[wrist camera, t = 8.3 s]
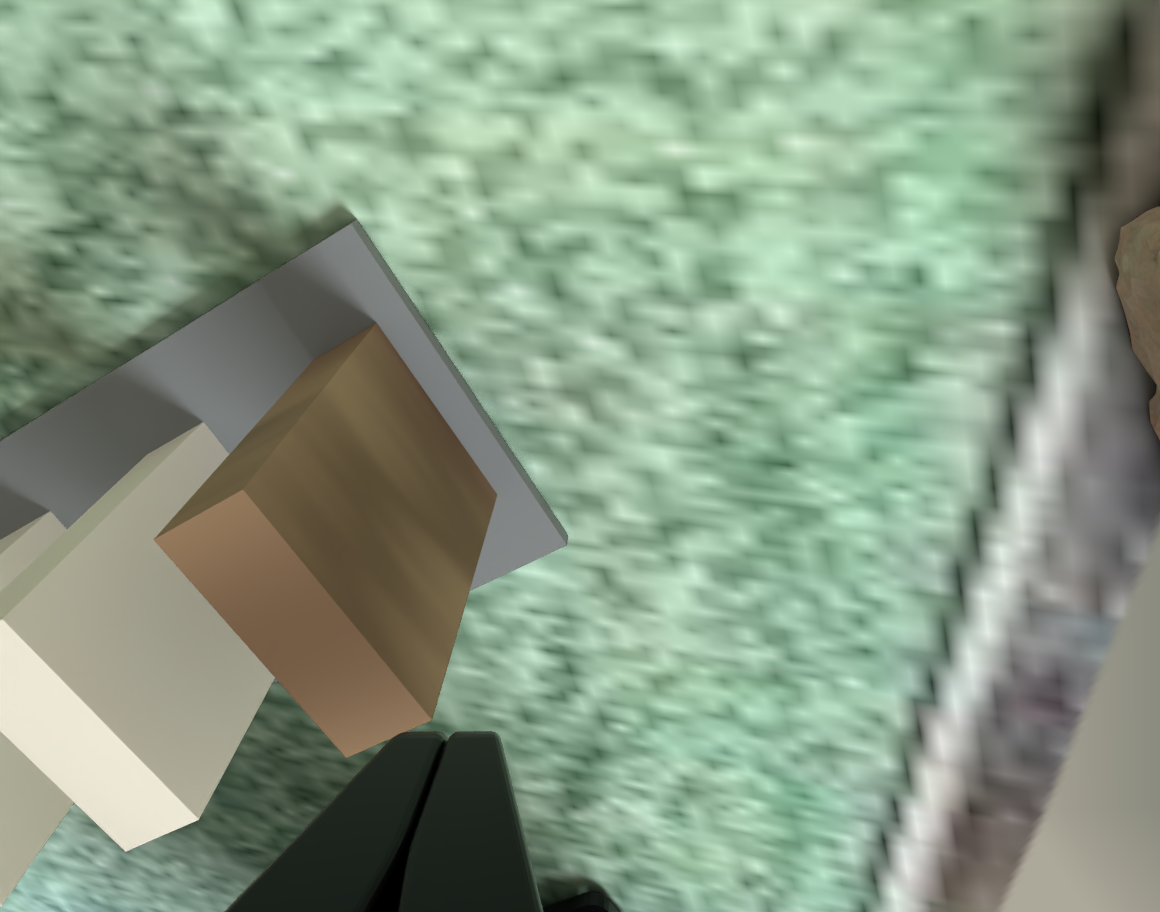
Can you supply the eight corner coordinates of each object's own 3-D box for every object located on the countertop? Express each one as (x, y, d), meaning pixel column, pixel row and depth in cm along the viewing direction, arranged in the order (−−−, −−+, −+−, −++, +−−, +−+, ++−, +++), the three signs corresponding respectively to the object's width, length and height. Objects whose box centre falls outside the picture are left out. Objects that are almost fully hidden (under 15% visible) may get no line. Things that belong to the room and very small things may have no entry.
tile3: (178, 652, 23) (2, 904, 17) (129, 677, 23) (-61, 932, 17) (50, 510, 21) (-198, 729, 15) (-1, 539, 22) (-262, 764, 15)
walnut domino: (497, 494, 20) (432, 720, 14) (436, 526, 21) (345, 758, 15) (377, 322, 19) (243, 489, 13) (313, 360, 19) (153, 539, 13)
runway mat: (568, 535, 21) (566, 545, 21) (-123, 863, 27) (-133, 875, 27) (356, 219, 18) (351, 223, 18) (-360, 664, 25) (-375, 674, 24)
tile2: (328, 578, 22) (199, 820, 15) (273, 605, 22) (125, 852, 16) (203, 421, 20) (2, 619, 14) (146, 454, 21) (-73, 660, 14)
